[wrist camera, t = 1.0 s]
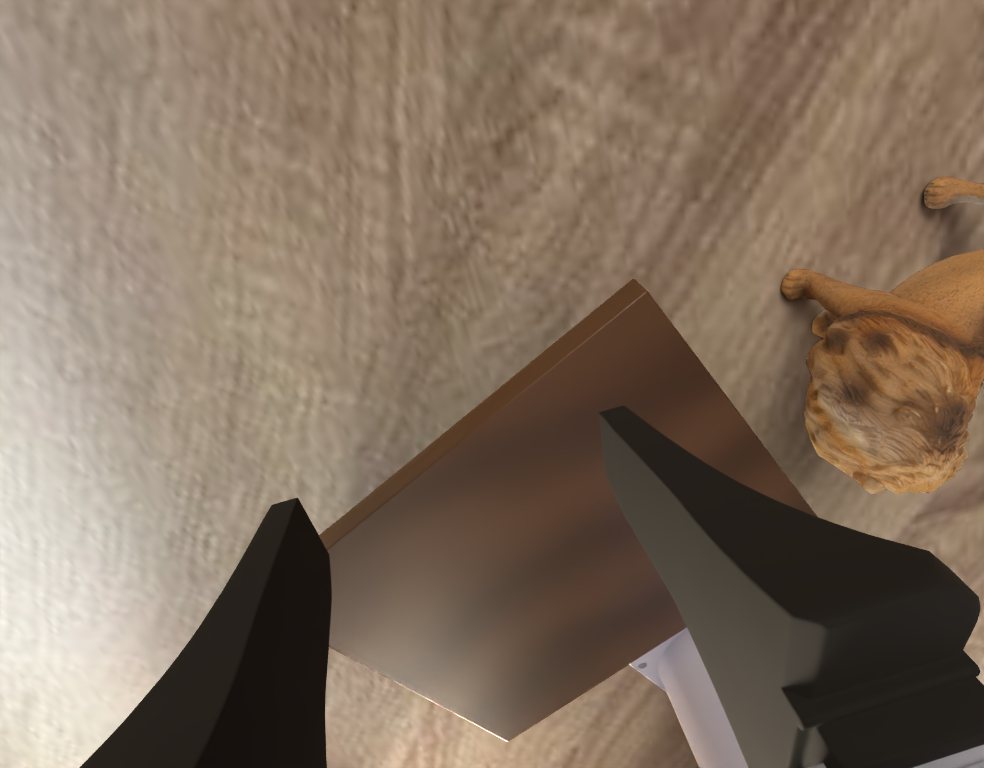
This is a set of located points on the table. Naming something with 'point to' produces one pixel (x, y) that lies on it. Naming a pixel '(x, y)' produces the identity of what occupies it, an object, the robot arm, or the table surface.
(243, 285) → the table surface
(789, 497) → the board
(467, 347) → the table surface
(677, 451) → the robot arm
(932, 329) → the lion figurine
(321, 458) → the table surface
